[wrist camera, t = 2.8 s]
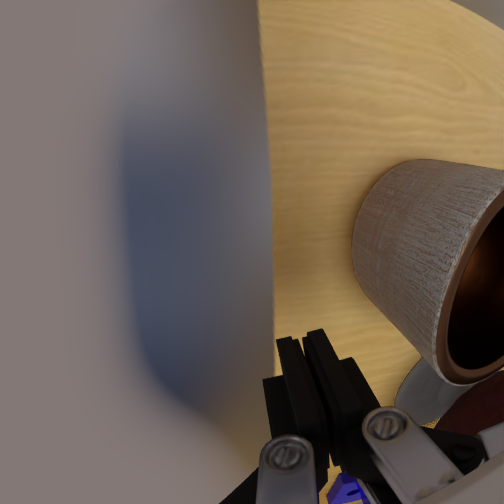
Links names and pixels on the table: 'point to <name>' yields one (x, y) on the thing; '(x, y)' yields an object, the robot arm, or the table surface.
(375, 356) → the table surface
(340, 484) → the mounting bracket
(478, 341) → the planter
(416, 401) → the mate gourd
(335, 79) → the table surface
